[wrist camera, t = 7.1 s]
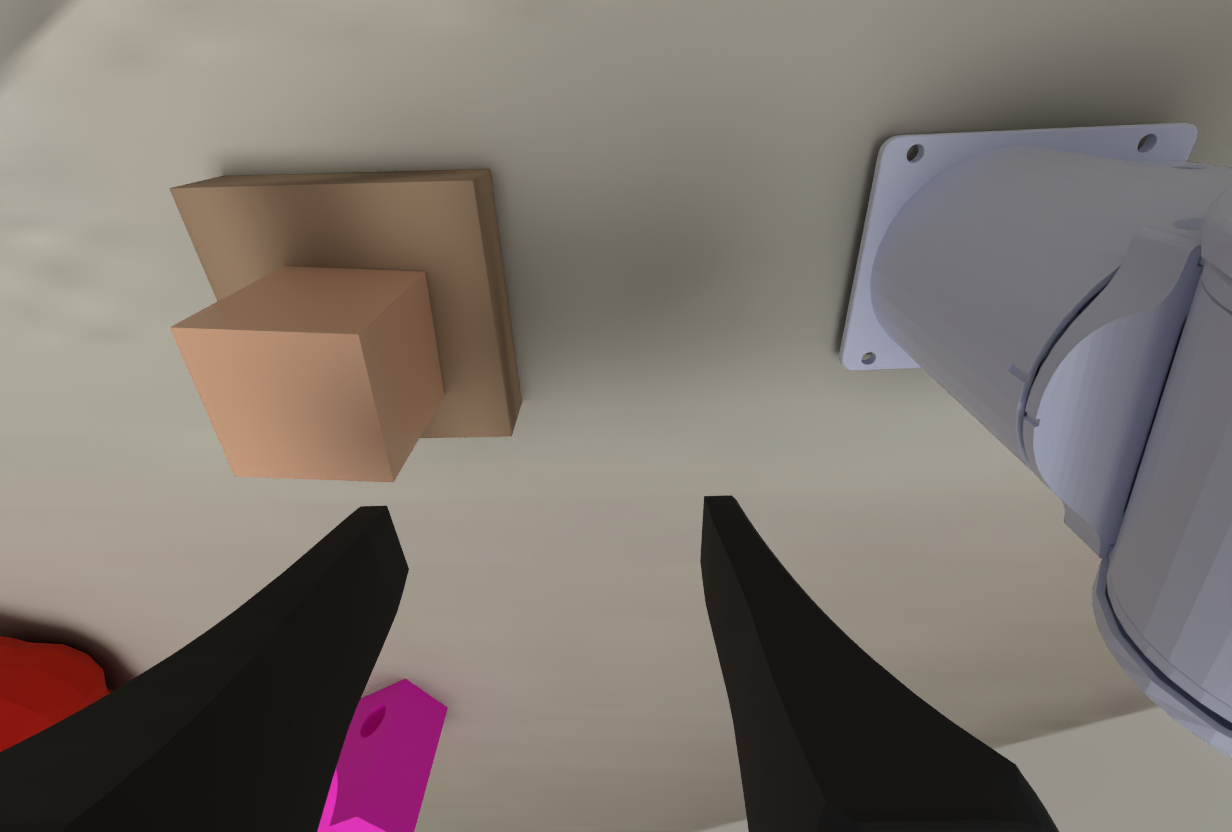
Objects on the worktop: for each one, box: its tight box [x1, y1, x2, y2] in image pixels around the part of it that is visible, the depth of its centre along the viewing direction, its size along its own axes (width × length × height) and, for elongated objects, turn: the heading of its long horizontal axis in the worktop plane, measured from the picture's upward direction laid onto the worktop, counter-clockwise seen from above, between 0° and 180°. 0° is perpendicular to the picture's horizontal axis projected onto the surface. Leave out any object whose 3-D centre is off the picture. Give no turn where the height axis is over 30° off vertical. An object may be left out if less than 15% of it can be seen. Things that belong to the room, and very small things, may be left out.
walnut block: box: [169, 169, 522, 438], centre depth 19 cm, size 9×9×3 cm
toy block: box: [317, 679, 447, 832], centre depth 34 cm, size 15×6×8 cm, turn 123°
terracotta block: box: [170, 266, 445, 482], centre depth 16 cm, size 4×4×5 cm
